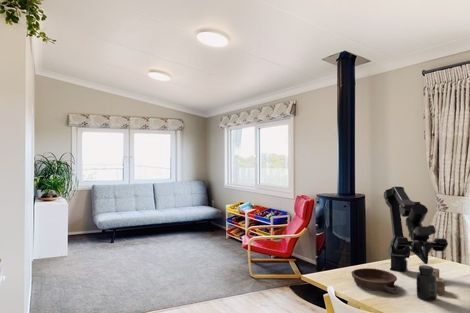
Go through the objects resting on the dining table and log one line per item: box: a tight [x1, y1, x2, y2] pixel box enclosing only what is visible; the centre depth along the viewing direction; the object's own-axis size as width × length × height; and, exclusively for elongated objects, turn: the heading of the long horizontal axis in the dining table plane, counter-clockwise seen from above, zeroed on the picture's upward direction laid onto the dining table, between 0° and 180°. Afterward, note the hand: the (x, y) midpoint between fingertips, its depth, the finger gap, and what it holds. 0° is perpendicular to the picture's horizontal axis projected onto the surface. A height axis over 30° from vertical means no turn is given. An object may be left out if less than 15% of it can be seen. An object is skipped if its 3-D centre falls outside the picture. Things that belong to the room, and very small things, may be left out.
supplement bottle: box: [415, 264, 438, 302], centre depth 133 cm, size 7×7×12 cm
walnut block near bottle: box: [436, 277, 446, 295], centre depth 140 cm, size 5×5×5 cm
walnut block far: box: [433, 267, 440, 278], centre depth 153 cm, size 5×5×5 cm
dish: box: [351, 267, 398, 293], centre depth 147 cm, size 18×22×5 cm
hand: (426, 263), depth 133 cm, fingers closed
